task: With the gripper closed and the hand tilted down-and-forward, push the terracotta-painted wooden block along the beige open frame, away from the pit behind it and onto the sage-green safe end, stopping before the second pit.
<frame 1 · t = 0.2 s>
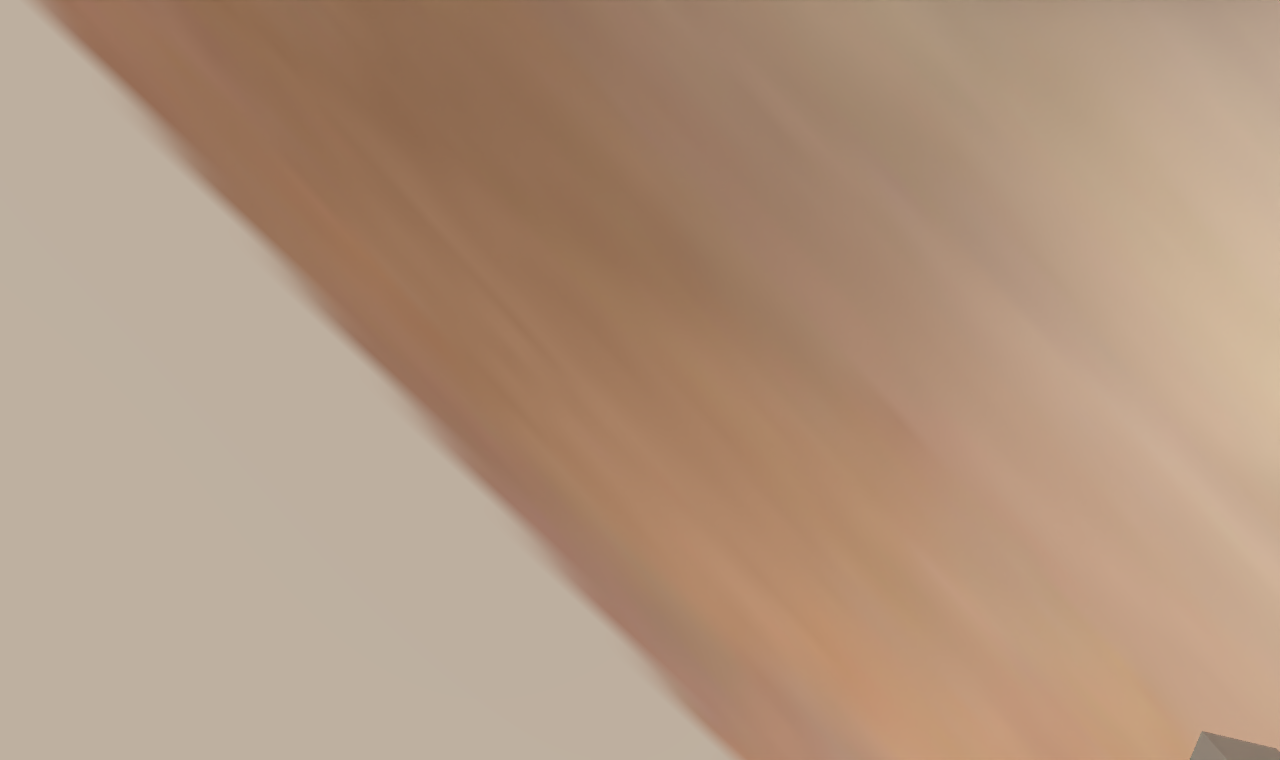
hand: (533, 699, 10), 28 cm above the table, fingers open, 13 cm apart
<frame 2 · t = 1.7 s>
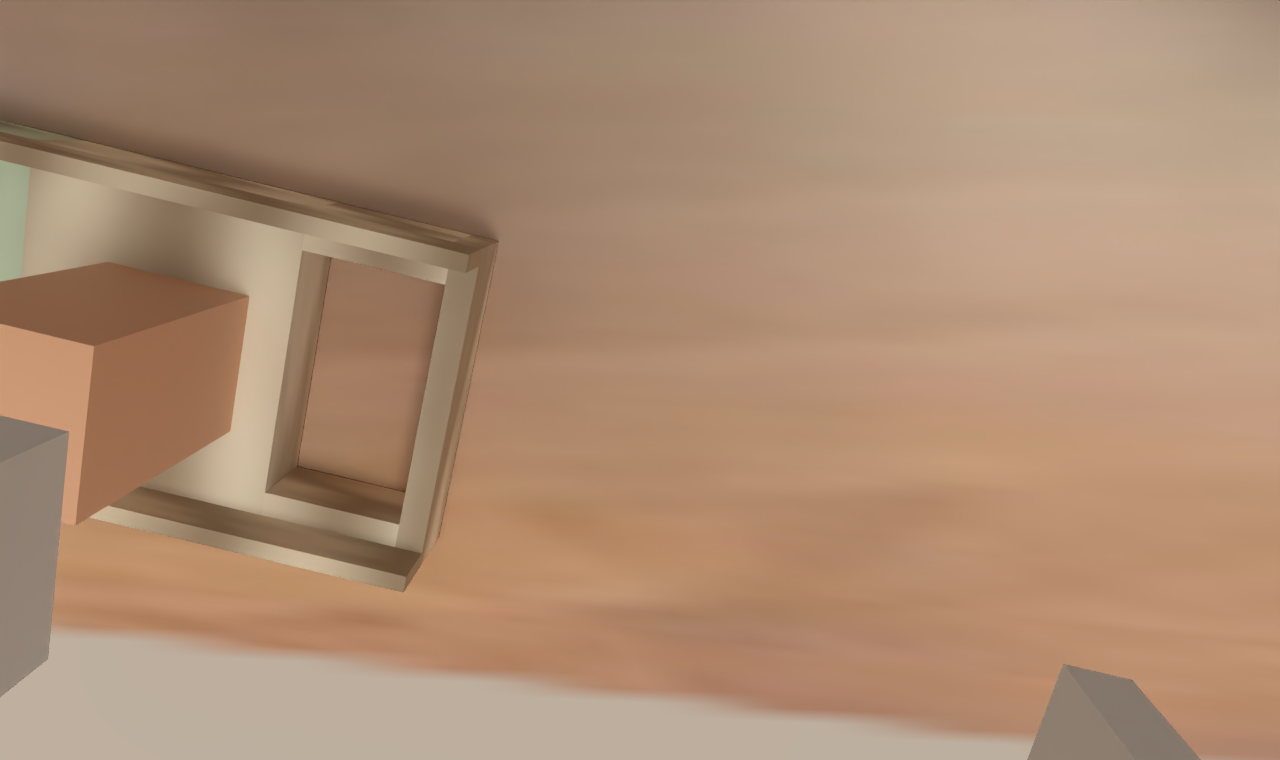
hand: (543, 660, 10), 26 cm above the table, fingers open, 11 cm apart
beige open frame: (84, 302, 36), on the table
block: (170, 347, 34), point 3 cm above the table, touching beige open frame
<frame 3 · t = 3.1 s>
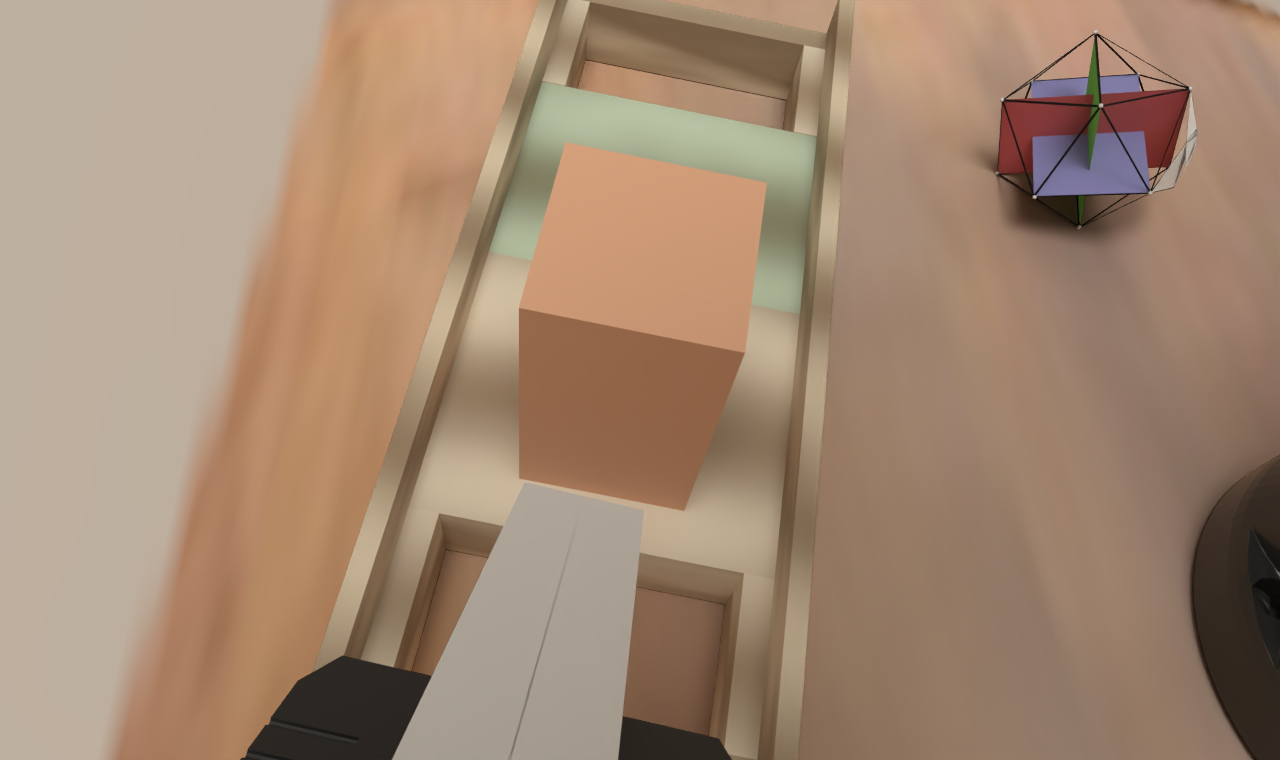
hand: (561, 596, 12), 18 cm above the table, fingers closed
beige open frame: (633, 342, 35), on the table
icosahedron model: (1047, 189, 41), on the table
block: (616, 422, 30), point 3 cm above the table, touching beige open frame
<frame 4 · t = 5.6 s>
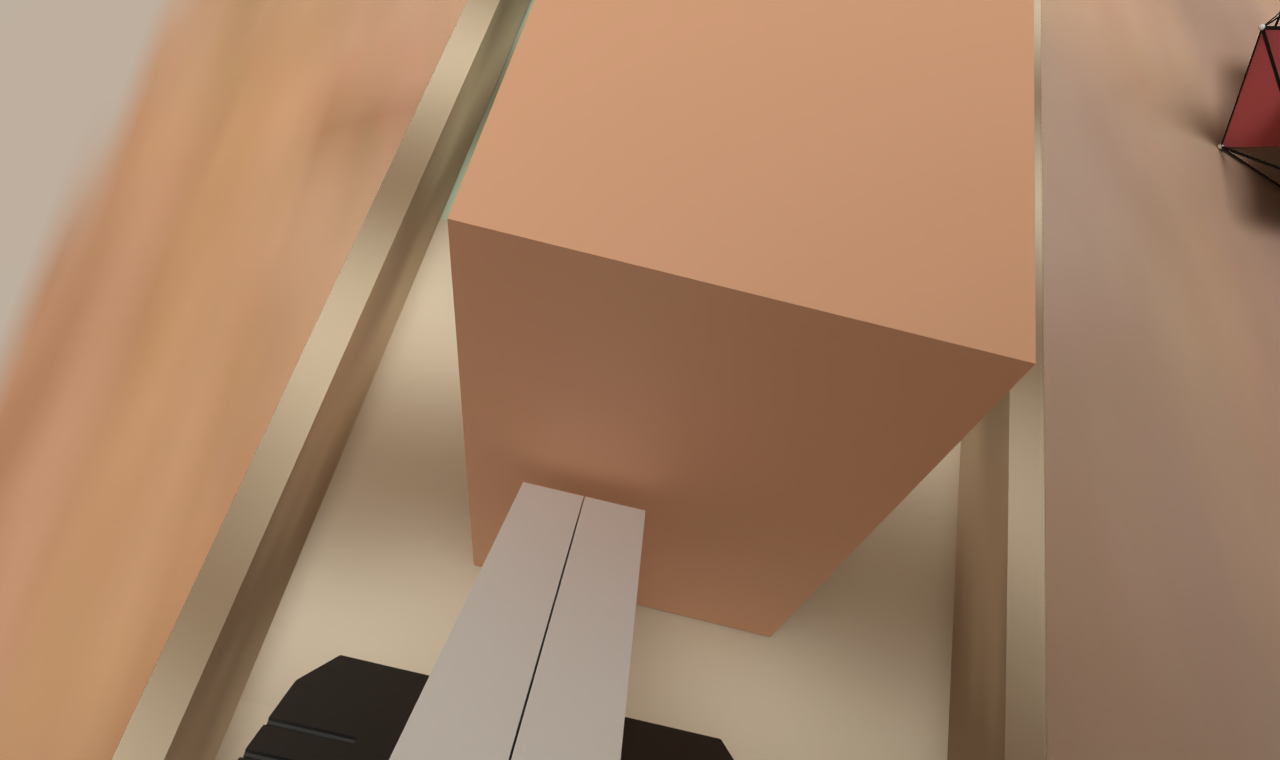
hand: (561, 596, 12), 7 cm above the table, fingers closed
beige open frame: (673, 380, 21), on the table
block: (652, 465, 17), point 3 cm above the table, touching gripper
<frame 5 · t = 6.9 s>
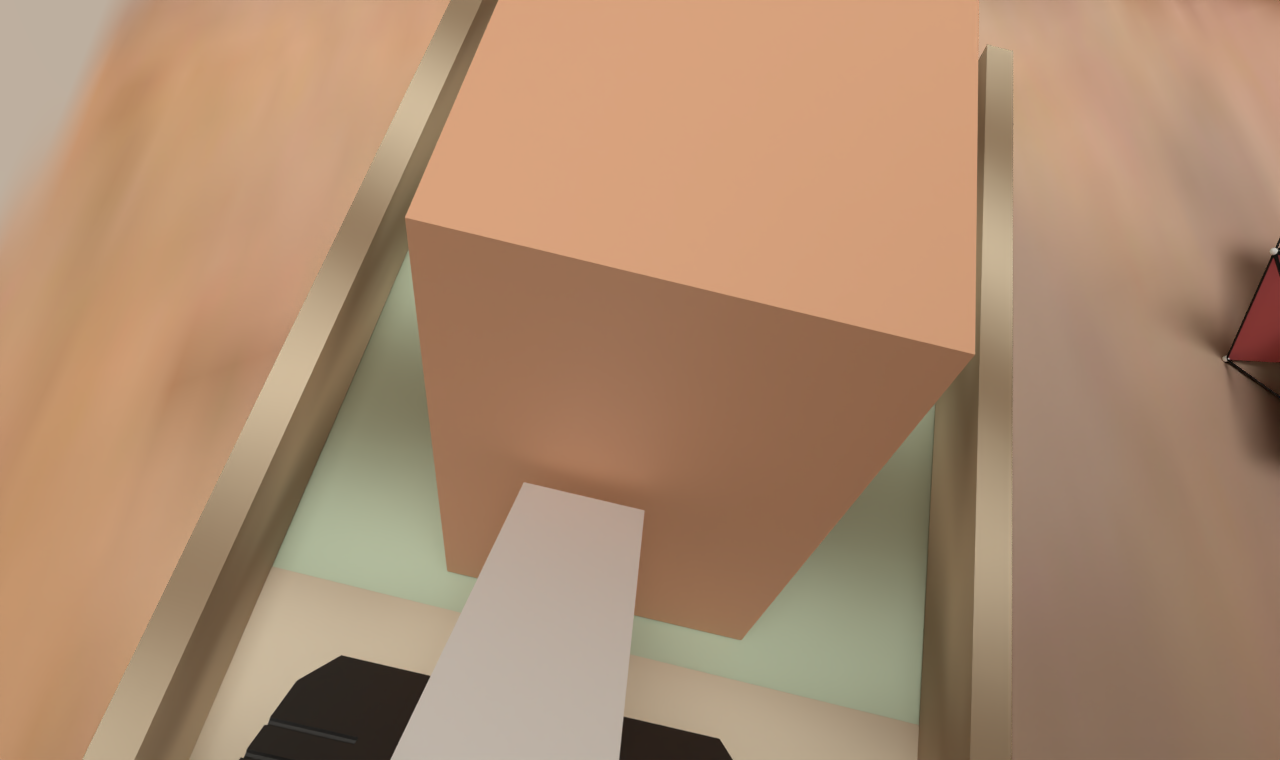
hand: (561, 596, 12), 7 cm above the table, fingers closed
beige open frame: (575, 714, 18), on the table
block: (624, 472, 17), point 3 cm above the table, touching gripper
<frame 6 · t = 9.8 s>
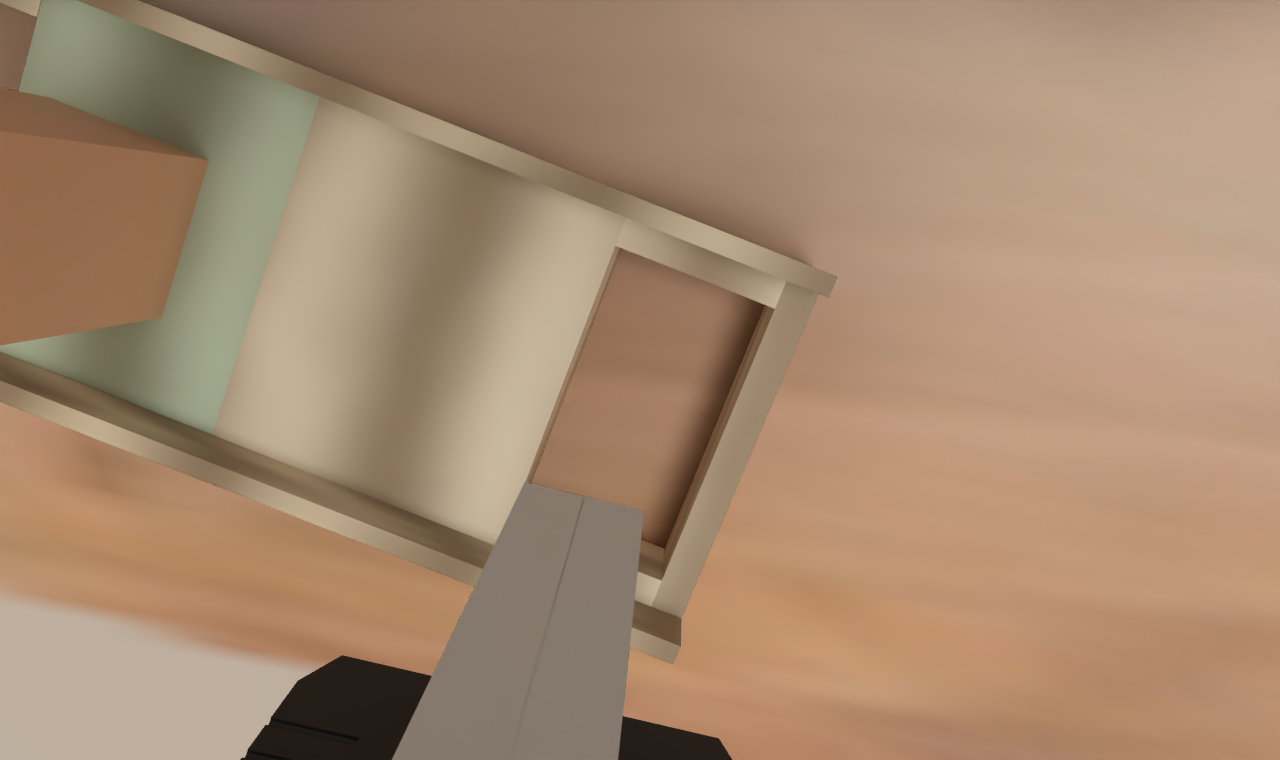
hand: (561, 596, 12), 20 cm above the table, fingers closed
beige open frame: (318, 272, 31), on the table
block: (106, 209, 28), point 3 cm above the table, touching beige open frame
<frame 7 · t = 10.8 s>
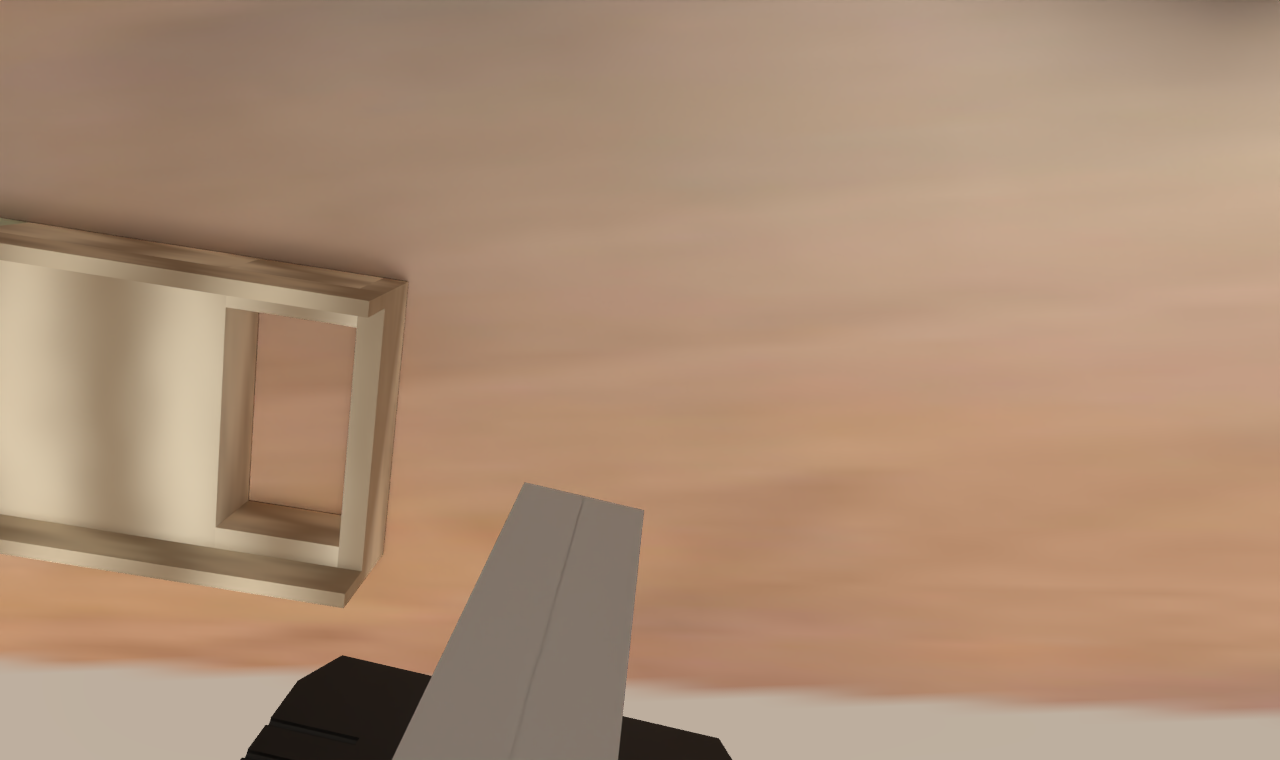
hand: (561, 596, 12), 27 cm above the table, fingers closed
beige open frame: (42, 367, 40), on the table
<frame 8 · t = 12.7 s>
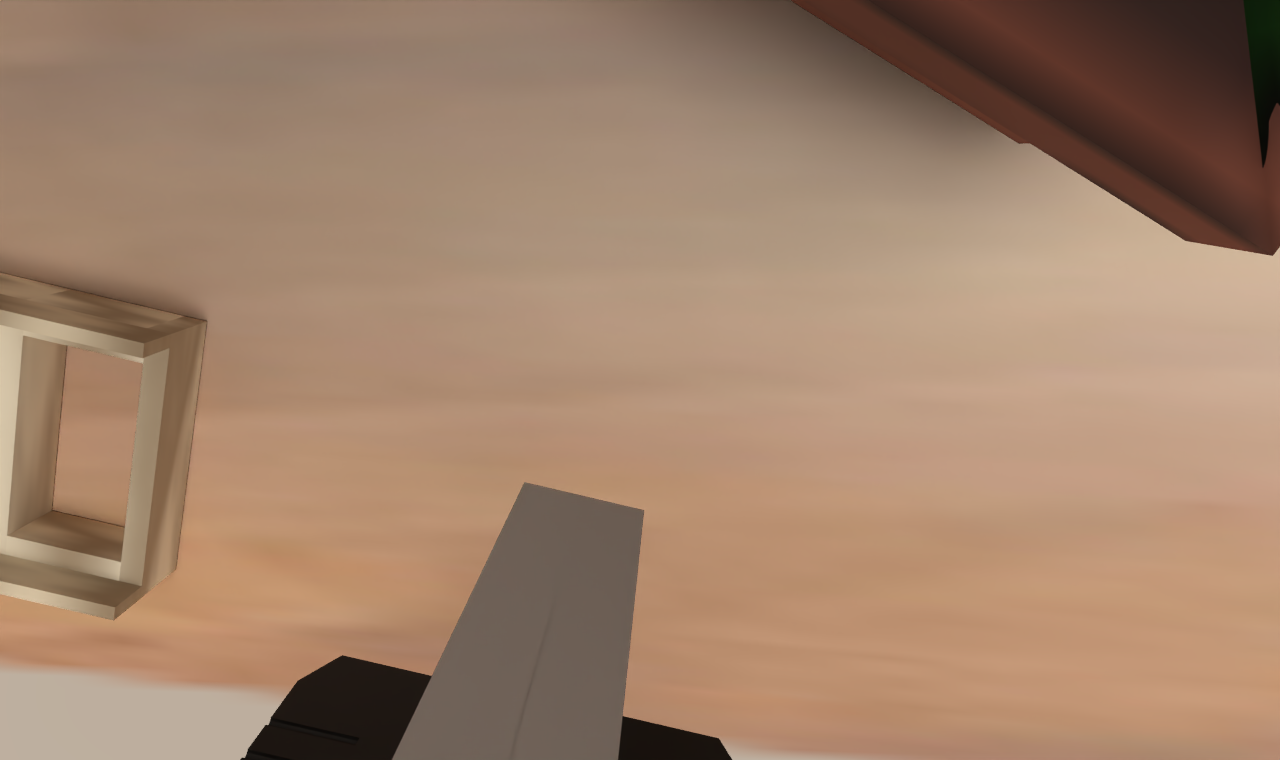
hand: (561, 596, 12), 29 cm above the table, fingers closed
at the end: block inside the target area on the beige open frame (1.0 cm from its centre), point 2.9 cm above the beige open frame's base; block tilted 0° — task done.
